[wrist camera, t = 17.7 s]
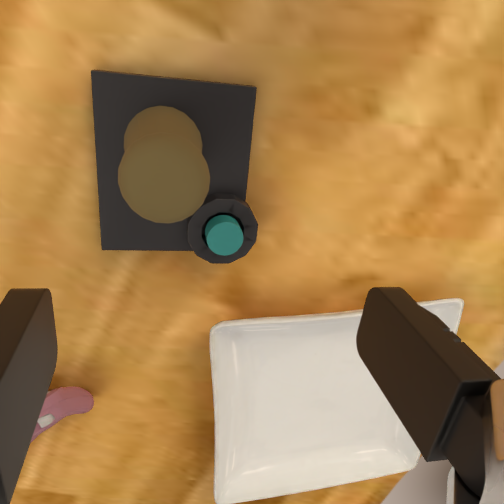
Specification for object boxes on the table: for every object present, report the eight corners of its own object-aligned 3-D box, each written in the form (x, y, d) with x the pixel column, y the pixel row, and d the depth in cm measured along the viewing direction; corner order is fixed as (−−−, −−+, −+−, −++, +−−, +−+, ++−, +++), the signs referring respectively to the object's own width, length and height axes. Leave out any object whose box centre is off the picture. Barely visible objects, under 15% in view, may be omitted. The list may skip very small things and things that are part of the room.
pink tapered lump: (79, 364, 42) (42, 390, 35) (101, 401, 42) (69, 435, 35) (0, 409, 43) (-52, 444, 36) (23, 446, 43) (-25, 488, 36)
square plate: (403, 447, 57) (418, 472, 54) (210, 480, 52) (214, 510, 49) (448, 283, 45) (472, 301, 42) (205, 304, 40) (209, 327, 37)
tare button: (205, 214, 33) (207, 221, 32) (241, 214, 34) (245, 222, 32) (203, 246, 35) (206, 255, 33) (238, 247, 35) (241, 256, 34)
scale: (93, 69, 30) (87, 71, 27) (264, 87, 32) (273, 89, 30) (104, 248, 36) (99, 263, 33) (247, 249, 39) (253, 263, 36)
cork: (213, 168, 33) (235, 216, 23) (143, 194, 33) (136, 253, 23) (185, 94, 30) (197, 113, 21) (109, 121, 30) (84, 154, 20)
